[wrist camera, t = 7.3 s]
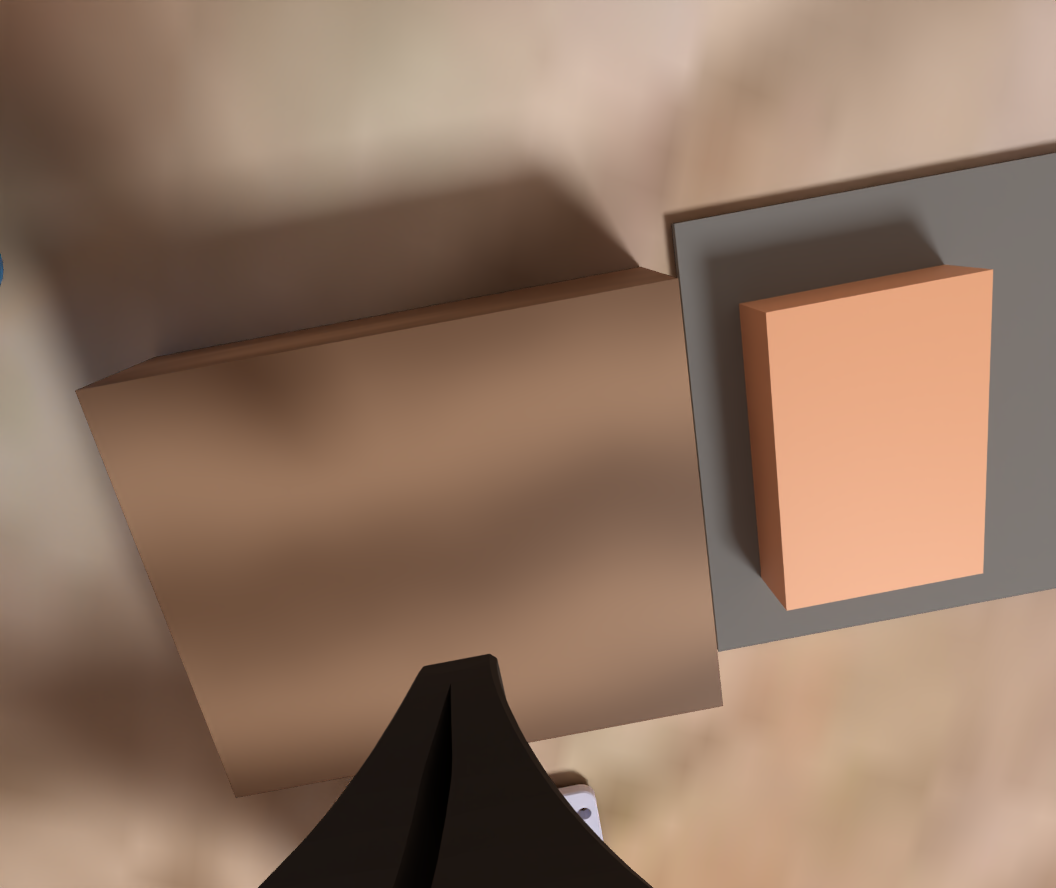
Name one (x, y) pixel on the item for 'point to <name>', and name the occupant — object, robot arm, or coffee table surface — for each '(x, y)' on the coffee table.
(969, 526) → the peach rectangular block
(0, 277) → the alarm clock
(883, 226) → the mat
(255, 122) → the coffee table surface
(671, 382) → the tan flat block
